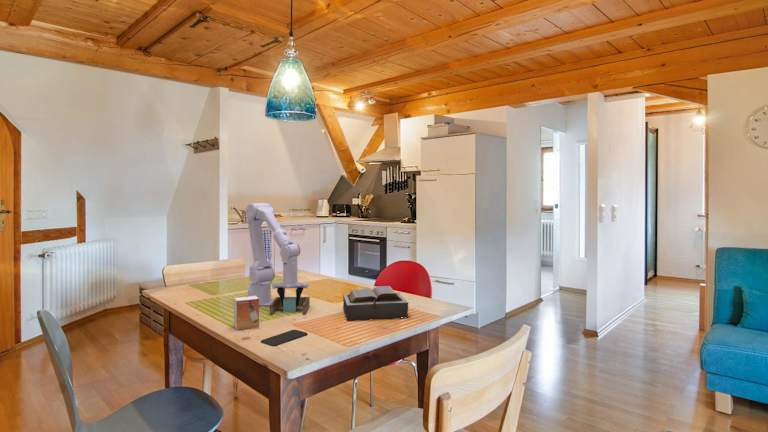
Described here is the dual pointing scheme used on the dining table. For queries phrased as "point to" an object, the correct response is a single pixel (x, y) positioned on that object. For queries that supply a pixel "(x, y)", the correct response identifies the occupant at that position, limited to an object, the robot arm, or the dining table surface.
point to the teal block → (289, 304)
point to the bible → (374, 304)
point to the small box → (246, 312)
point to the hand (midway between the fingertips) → (290, 305)
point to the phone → (283, 337)
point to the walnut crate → (303, 303)
